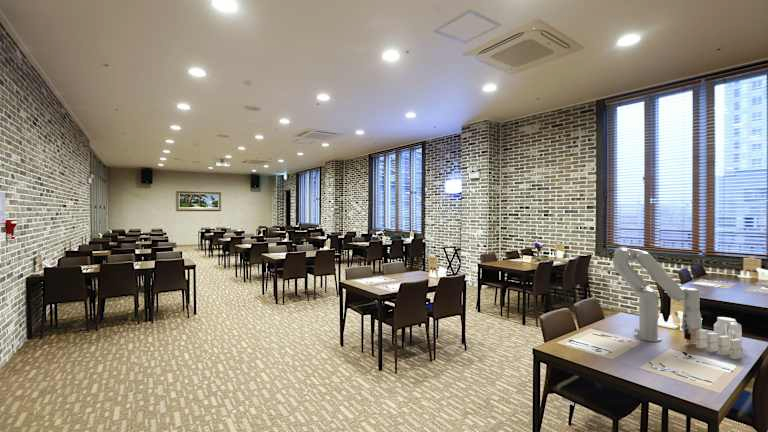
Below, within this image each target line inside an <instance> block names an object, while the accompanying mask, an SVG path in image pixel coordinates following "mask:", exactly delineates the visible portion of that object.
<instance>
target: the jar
mask: <svg viewBox="0 0 768 432" xmlns="http://www.w3.org/2000/svg"><path fill="white" fill-rule="evenodd" d="M716 318H717V319H716V322H715V323H714V324H713V333H718V336H725V335H726V334H725V324H726V322H734V323H737V320H736V319H735V318H732V317H726V316H717V317H716Z"/></svg>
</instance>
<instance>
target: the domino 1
mask: <svg viewBox="0 0 768 432" xmlns="http://www.w3.org/2000/svg"><path fill="white" fill-rule="evenodd" d="M686 327H687V326H686ZM686 329H687V328H686ZM687 330H688V329H687ZM696 331H697V329H691V330H690V333H691V340H688V339H685V340H686V341H685V343H686V344H689V345H692V344H696Z"/></svg>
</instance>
